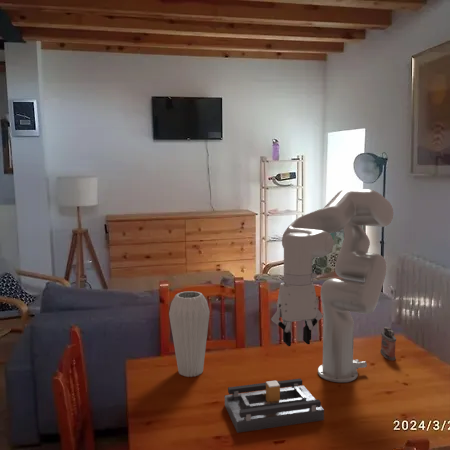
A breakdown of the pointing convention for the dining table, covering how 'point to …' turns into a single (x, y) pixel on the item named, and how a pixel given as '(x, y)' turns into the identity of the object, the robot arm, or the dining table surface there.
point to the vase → (189, 331)
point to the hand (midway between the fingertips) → (297, 342)
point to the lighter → (388, 344)
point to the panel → (259, 400)
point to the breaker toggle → (272, 391)
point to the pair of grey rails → (275, 408)
